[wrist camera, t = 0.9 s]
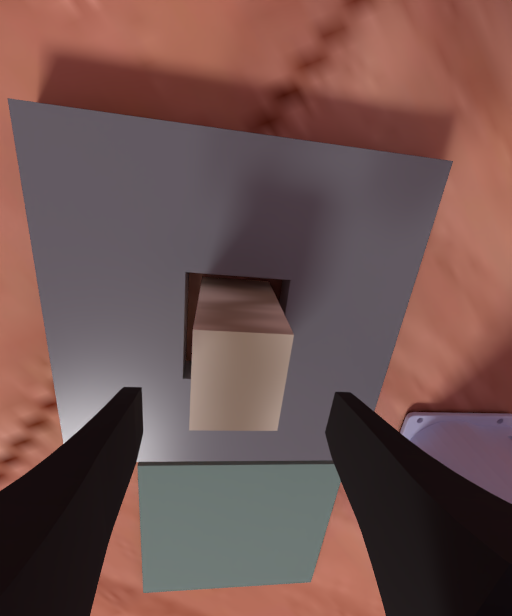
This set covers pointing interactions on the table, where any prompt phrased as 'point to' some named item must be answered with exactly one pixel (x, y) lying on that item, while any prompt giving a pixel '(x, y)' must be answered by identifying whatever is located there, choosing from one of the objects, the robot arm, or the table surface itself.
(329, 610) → the table surface
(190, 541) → the rubber mat
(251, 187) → the pocket plate
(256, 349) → the birch block
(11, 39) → the table surface
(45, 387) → the table surface
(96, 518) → the robot arm
